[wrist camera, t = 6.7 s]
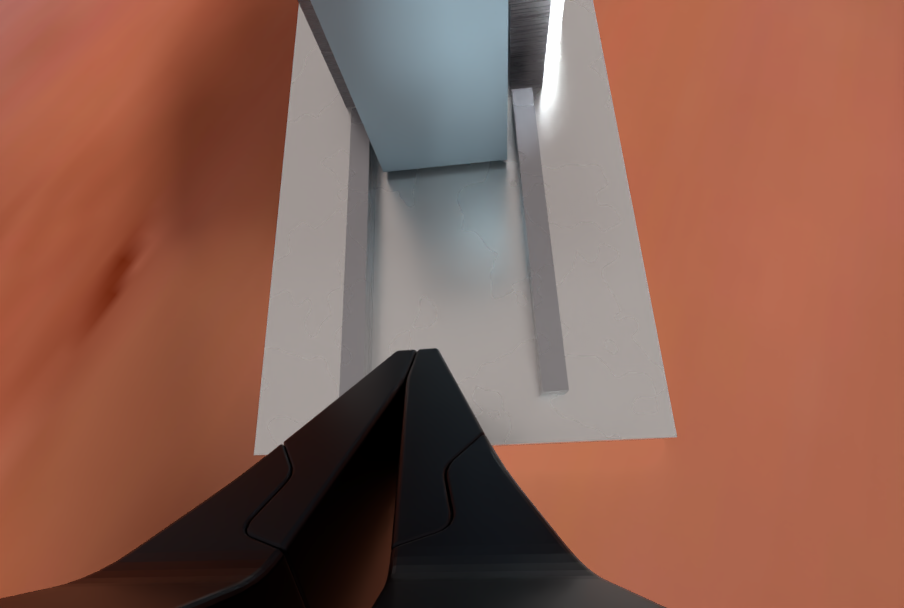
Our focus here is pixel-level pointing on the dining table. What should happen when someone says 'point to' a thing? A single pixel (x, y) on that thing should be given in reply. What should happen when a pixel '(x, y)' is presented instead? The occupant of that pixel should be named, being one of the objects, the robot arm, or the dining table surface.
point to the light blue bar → (424, 76)
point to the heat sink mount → (469, 253)
